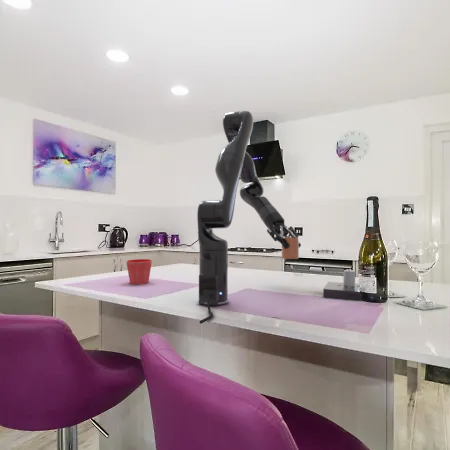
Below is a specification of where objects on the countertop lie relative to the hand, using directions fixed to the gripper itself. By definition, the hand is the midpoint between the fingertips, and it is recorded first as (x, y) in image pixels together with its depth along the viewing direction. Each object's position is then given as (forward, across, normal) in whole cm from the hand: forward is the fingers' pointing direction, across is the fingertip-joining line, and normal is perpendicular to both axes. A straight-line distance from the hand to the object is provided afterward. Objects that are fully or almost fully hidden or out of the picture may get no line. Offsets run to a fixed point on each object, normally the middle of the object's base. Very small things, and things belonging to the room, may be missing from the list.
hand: (293, 247), depth 129 cm
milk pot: (+2, 0, +4) cm, 5 cm away
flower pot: (-25, -39, +49) cm, 68 cm away
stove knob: (+22, +10, -3) cm, 24 cm away
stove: (+24, +7, 0) cm, 25 cm away
